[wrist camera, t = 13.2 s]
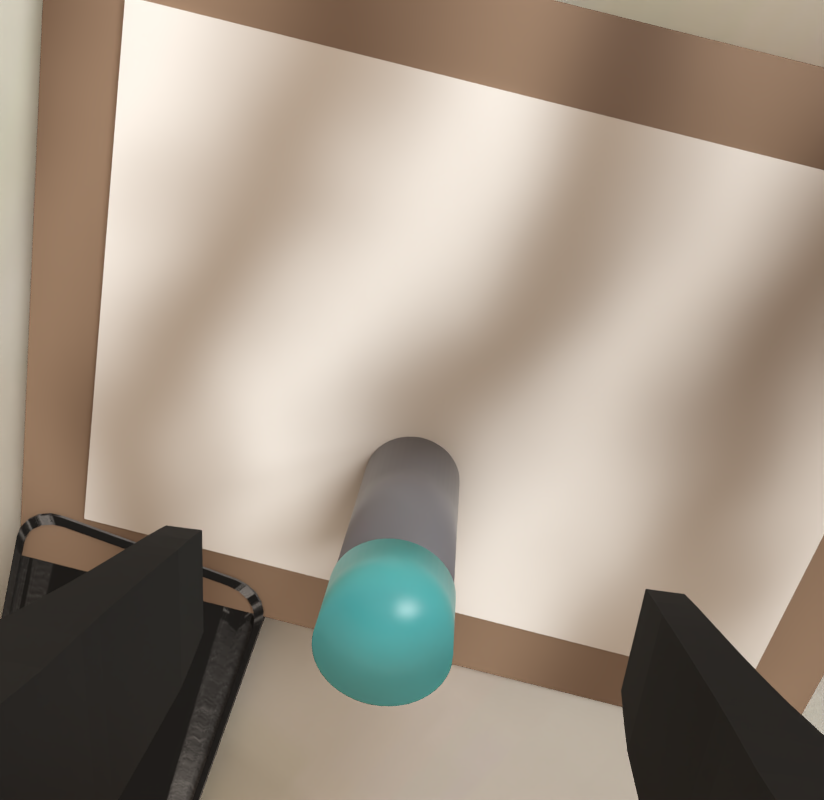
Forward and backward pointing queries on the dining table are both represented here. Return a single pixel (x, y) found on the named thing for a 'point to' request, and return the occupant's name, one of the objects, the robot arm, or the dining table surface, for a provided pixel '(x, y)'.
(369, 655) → the marker
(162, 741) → the phone
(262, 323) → the drawing pad
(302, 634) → the dining table surface
